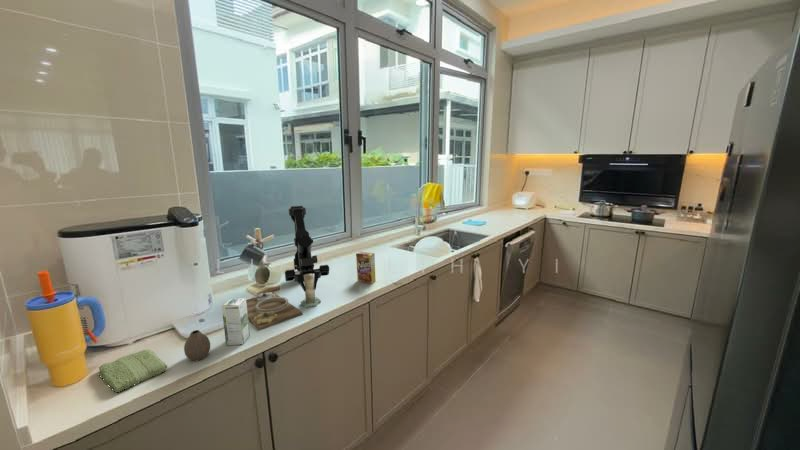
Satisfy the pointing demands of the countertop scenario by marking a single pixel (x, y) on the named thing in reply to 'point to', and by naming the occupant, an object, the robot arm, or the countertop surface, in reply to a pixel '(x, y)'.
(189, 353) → the vase
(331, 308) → the countertop surface
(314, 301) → the gear
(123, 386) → the washcloth
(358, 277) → the candy box
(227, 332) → the syrup box
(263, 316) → the gear board
